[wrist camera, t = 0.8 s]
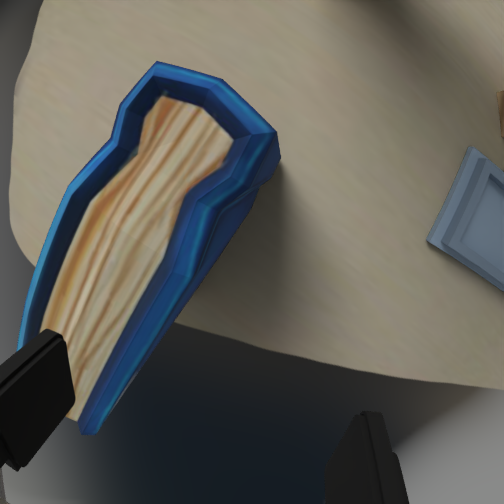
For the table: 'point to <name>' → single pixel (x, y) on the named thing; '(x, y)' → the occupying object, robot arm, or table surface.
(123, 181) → the book
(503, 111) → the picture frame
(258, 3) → the table surface
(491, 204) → the blue tray
